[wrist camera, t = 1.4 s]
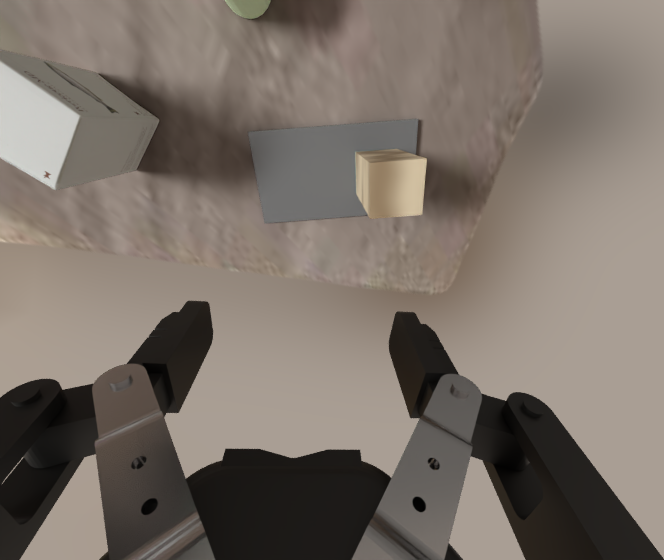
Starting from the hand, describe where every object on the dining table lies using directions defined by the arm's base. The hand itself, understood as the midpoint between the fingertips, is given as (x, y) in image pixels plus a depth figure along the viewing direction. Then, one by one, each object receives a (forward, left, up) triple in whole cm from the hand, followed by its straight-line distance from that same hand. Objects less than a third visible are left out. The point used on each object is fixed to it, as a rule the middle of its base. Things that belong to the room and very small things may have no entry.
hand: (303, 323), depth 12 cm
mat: (-3, +2, -28) cm, 29 cm away
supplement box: (+1, -23, -29) cm, 37 cm away
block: (-5, +7, -28) cm, 29 cm away
